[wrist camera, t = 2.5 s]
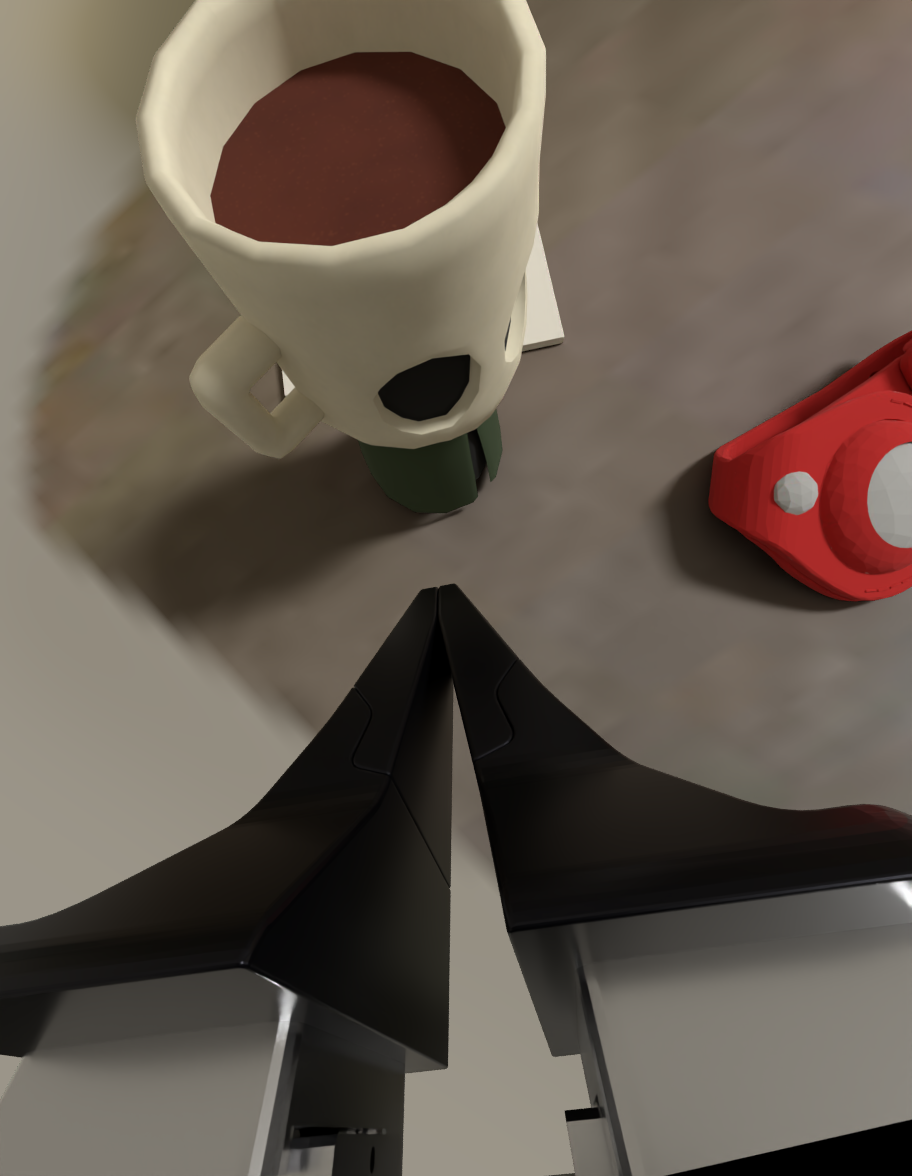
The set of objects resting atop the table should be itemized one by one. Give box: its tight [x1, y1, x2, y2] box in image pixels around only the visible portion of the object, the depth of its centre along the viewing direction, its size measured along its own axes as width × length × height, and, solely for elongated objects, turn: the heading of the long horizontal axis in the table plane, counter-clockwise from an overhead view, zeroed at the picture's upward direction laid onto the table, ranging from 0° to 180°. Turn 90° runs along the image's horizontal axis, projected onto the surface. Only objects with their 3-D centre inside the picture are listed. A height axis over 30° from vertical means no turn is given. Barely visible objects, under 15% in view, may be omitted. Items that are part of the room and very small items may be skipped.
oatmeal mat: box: [282, 224, 564, 396], centre depth 21 cm, size 16×14×1 cm
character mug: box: [136, 0, 546, 513], centre depth 13 cm, size 11×7×13 cm, turn 138°
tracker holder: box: [708, 331, 912, 601], centre depth 17 cm, size 12×4×10 cm
